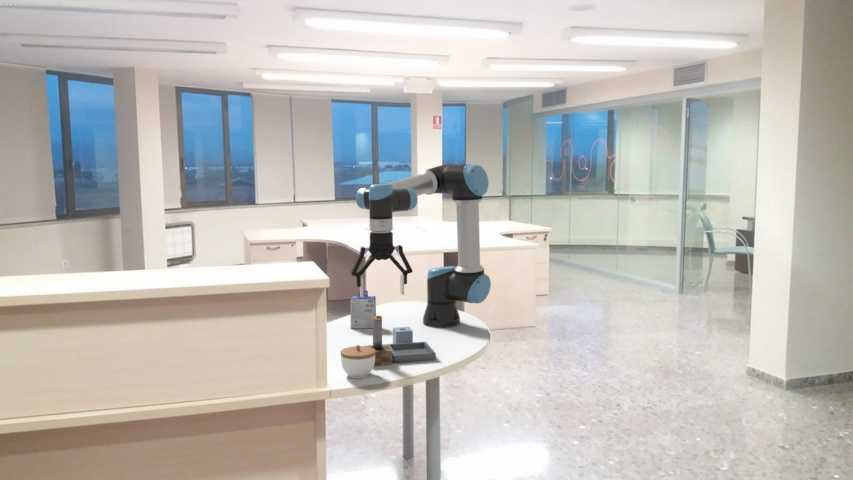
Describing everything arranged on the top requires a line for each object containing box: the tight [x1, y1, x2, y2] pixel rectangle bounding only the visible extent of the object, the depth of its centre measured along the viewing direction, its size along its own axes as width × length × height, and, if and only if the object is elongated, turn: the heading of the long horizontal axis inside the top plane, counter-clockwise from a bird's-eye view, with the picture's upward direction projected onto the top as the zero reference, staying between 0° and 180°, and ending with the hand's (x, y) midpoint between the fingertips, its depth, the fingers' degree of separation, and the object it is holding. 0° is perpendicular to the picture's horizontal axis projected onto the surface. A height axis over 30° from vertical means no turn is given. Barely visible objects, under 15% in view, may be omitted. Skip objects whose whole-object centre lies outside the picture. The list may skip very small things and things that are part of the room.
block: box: [392, 326, 414, 344], centre depth 233 cm, size 6×6×6 cm
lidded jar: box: [340, 344, 376, 379], centre depth 200 cm, size 11×11×9 cm
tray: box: [386, 341, 437, 364], centre depth 221 cm, size 14×14×2 cm
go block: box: [366, 343, 393, 367], centre depth 214 cm, size 8×8×4 cm
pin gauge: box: [372, 315, 383, 350], centre depth 213 cm, size 3×3×14 cm
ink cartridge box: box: [349, 290, 377, 329], centre depth 258 cm, size 10×6×14 cm, turn 91°
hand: (382, 295), depth 215 cm, fingers open, 13 cm apart
